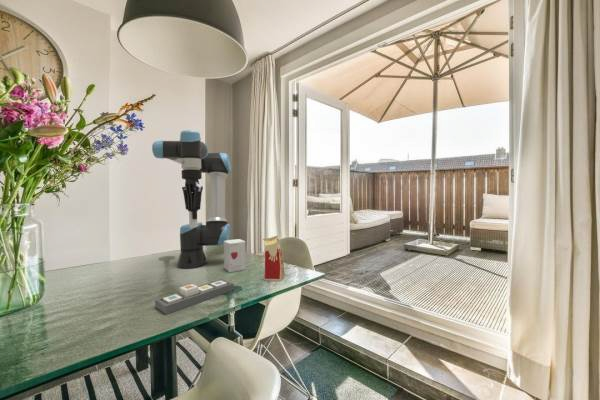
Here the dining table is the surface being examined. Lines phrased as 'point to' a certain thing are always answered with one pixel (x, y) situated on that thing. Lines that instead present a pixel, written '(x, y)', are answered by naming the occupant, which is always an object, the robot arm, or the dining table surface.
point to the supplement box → (234, 255)
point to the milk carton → (273, 260)
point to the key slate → (218, 284)
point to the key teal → (172, 299)
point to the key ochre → (205, 288)
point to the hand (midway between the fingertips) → (193, 227)
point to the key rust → (189, 290)
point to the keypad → (192, 298)
